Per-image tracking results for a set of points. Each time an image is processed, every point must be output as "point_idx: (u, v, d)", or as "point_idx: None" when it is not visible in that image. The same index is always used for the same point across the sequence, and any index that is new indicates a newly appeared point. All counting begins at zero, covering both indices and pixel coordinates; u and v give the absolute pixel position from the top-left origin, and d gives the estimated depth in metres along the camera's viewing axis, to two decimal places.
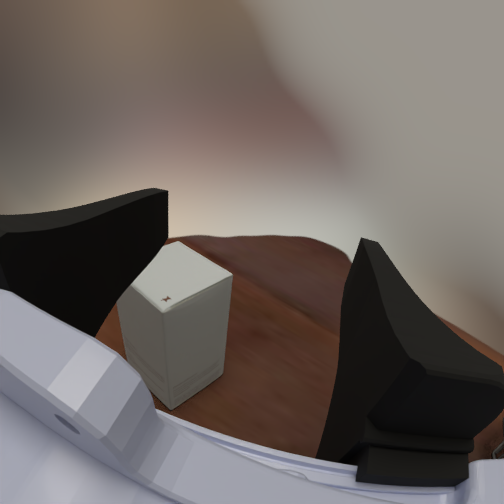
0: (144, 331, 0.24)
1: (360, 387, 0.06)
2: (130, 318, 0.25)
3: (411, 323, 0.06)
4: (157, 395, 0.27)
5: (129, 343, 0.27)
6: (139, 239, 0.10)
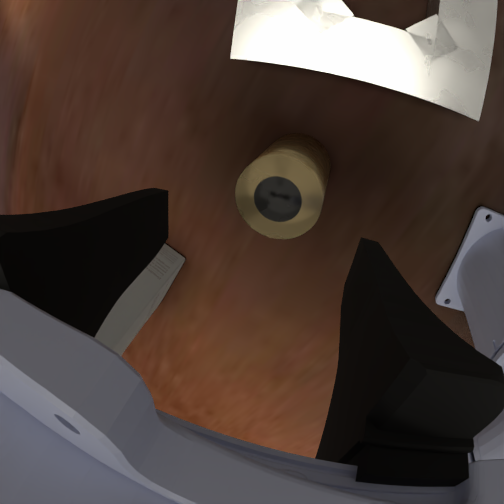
0: (120, 349, 0.20)
1: (360, 387, 0.06)
2: None
3: (411, 323, 0.06)
4: None
5: (137, 332, 0.25)
6: (139, 239, 0.10)
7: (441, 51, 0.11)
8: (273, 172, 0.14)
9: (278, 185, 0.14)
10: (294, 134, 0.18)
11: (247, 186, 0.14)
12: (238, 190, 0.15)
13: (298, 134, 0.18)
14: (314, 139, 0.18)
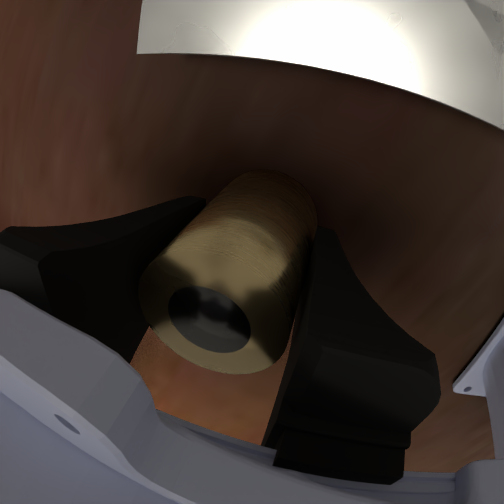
0: None
1: (289, 370, 0.06)
2: None
3: (337, 305, 0.06)
4: None
5: None
6: None
7: None
8: (194, 280, 0.07)
9: (205, 301, 0.07)
10: (258, 173, 0.11)
11: (155, 296, 0.08)
12: (143, 300, 0.08)
13: (264, 172, 0.11)
14: (291, 180, 0.11)
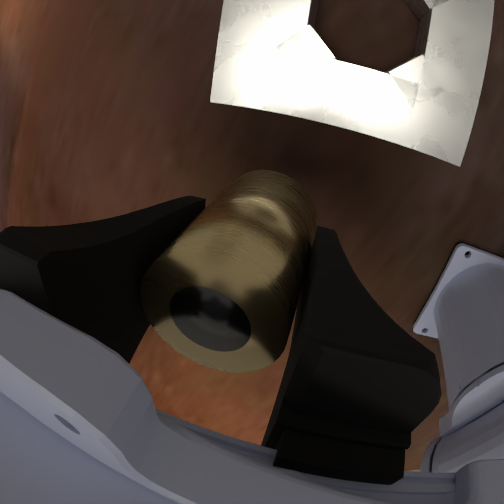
0: None
1: (289, 370, 0.06)
2: None
3: (338, 305, 0.06)
4: None
5: None
6: None
7: (425, 95, 0.12)
8: (195, 280, 0.07)
9: (206, 301, 0.08)
10: (258, 173, 0.11)
11: (157, 295, 0.08)
12: (145, 299, 0.08)
13: (265, 173, 0.11)
14: (291, 181, 0.11)
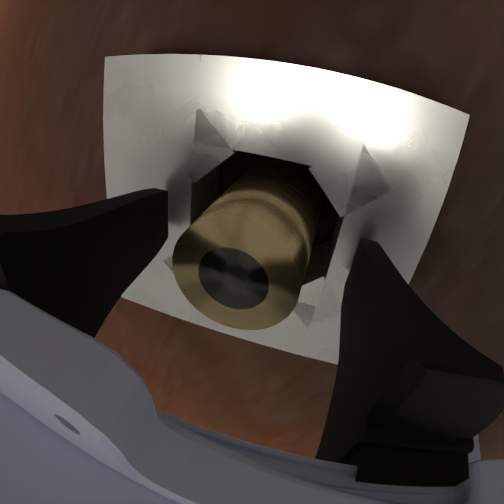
0: None
1: (360, 387, 0.06)
2: None
3: (411, 323, 0.06)
4: None
5: None
6: (139, 239, 0.10)
7: (323, 316, 0.13)
8: (226, 242, 0.09)
9: (232, 261, 0.09)
10: (273, 163, 0.13)
11: (188, 257, 0.10)
12: (176, 260, 0.10)
13: (278, 163, 0.13)
14: (301, 171, 0.13)
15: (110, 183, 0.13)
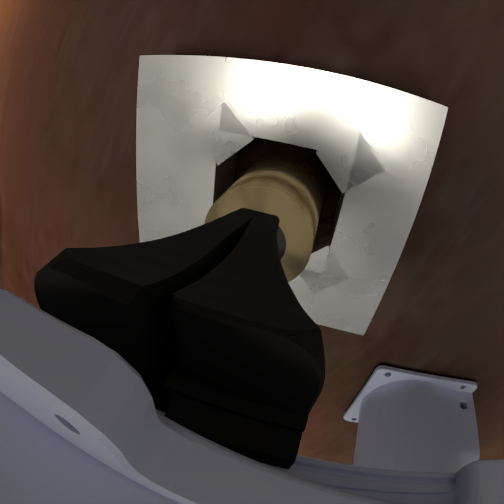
0: None
1: None
2: None
3: (236, 278, 0.06)
4: None
5: None
6: None
7: (328, 283, 0.15)
8: (251, 208, 0.11)
9: None
10: (283, 150, 0.15)
11: None
12: None
13: (288, 150, 0.15)
14: (307, 157, 0.15)
15: (140, 166, 0.15)
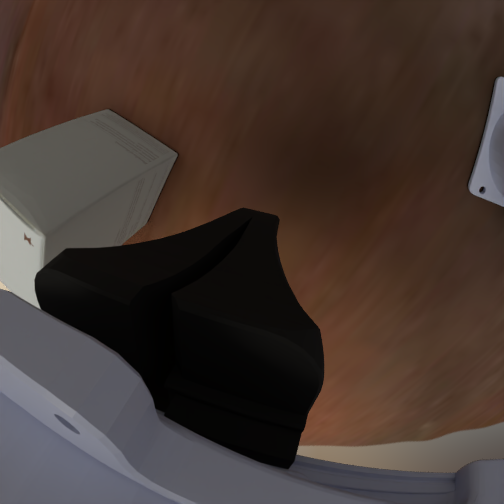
0: (89, 238, 0.16)
1: None
2: None
3: (236, 277, 0.06)
4: (165, 177, 0.22)
5: (116, 241, 0.21)
6: None
7: None
8: None
9: None
10: None
11: None
12: None
13: None
14: None
15: None
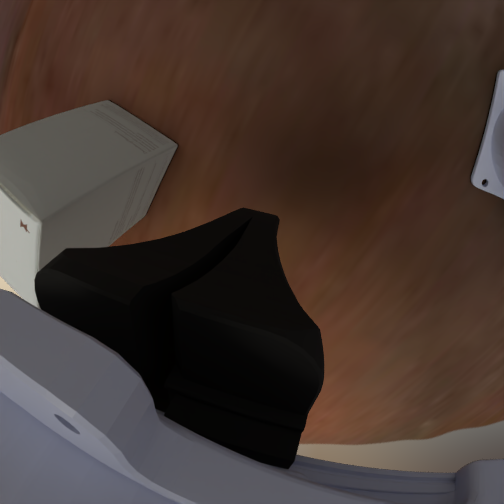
0: (86, 227, 0.15)
1: None
2: None
3: (236, 277, 0.06)
4: (164, 168, 0.21)
5: (114, 232, 0.20)
6: None
7: None
8: None
9: None
10: None
11: None
12: None
13: None
14: None
15: None
